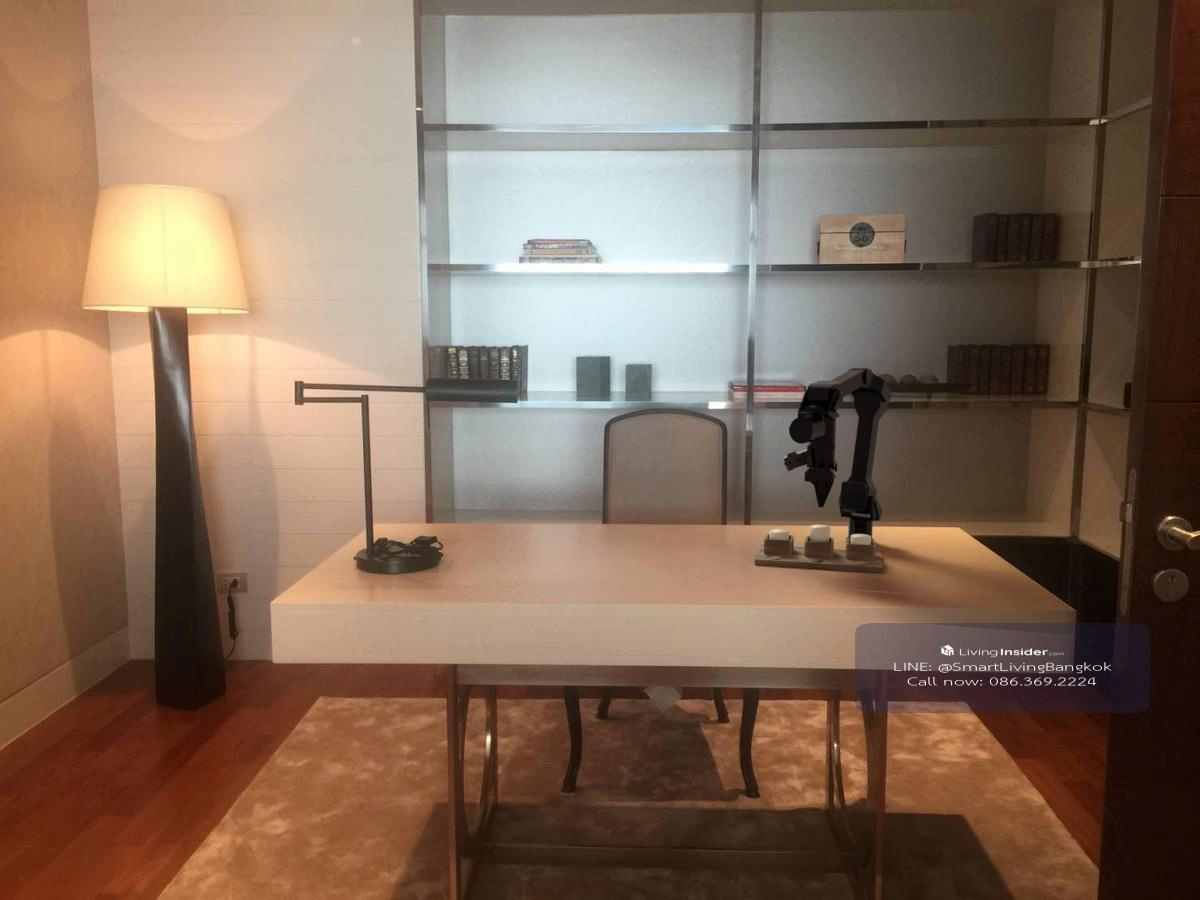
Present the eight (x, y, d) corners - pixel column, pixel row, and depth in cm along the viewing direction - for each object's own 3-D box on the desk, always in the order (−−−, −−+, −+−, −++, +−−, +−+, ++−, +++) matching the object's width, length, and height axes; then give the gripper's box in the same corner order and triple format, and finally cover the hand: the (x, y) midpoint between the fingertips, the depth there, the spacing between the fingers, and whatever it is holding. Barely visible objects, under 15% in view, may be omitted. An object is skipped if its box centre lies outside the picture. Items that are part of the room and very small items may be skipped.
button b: (809, 541, 215) (810, 524, 215) (829, 542, 214) (830, 525, 214) (808, 545, 211) (809, 528, 211) (829, 546, 210) (829, 529, 210)
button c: (770, 545, 218) (770, 528, 218) (789, 547, 217) (789, 530, 216) (768, 550, 214) (768, 532, 213) (787, 551, 213) (788, 533, 212)
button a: (850, 550, 213) (850, 533, 213) (870, 552, 212) (871, 534, 212) (850, 555, 209) (850, 537, 209) (870, 556, 208) (871, 538, 207)
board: (761, 549, 222) (761, 531, 222) (880, 556, 215) (881, 537, 215) (754, 564, 208) (755, 544, 208) (881, 572, 201) (882, 552, 201)
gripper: (790, 433, 223) (789, 498, 225) (781, 443, 205) (780, 513, 207) (838, 434, 219) (837, 500, 222) (834, 444, 202) (832, 516, 204)
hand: (820, 507), depth 214 cm, fingers closed
